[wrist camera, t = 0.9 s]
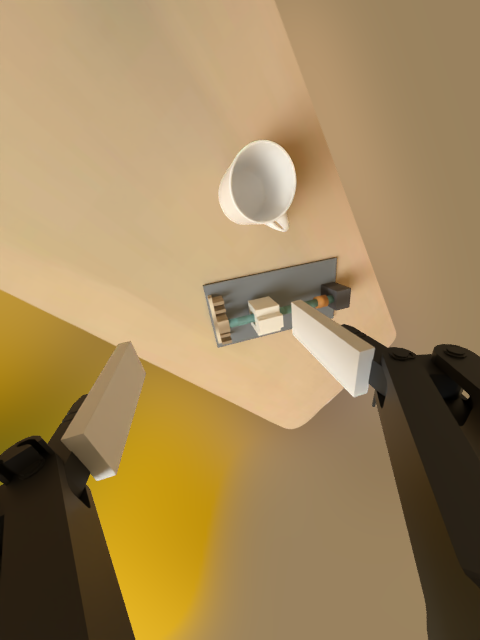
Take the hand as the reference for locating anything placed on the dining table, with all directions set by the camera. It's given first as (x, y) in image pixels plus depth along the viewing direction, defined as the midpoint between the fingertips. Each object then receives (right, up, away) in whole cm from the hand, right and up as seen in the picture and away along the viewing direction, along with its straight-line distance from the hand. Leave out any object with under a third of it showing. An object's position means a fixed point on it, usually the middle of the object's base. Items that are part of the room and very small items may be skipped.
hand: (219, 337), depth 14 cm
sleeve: (+6, +3, +27) cm, 28 cm away
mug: (+3, +21, +21) cm, 30 cm away
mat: (+9, +5, +29) cm, 31 cm away
